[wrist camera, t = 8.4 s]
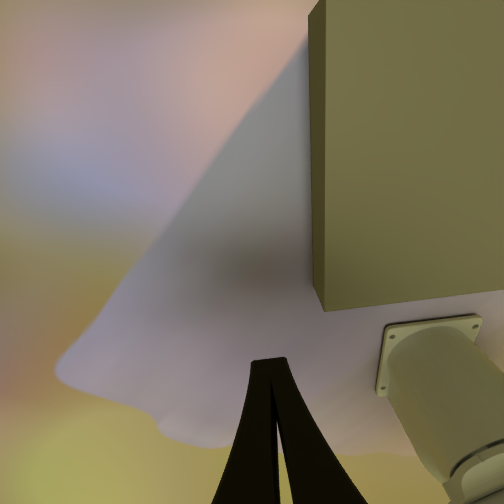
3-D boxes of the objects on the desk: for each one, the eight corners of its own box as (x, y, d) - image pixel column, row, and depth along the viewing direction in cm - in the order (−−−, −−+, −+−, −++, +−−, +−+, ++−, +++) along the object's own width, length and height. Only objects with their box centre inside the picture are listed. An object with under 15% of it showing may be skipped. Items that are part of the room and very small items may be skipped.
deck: (498, 261, 20) (537, 285, 17) (313, 285, 20) (324, 312, 18) (607, -31, 12) (708, -70, 10) (308, 15, 13) (326, -10, 10)
